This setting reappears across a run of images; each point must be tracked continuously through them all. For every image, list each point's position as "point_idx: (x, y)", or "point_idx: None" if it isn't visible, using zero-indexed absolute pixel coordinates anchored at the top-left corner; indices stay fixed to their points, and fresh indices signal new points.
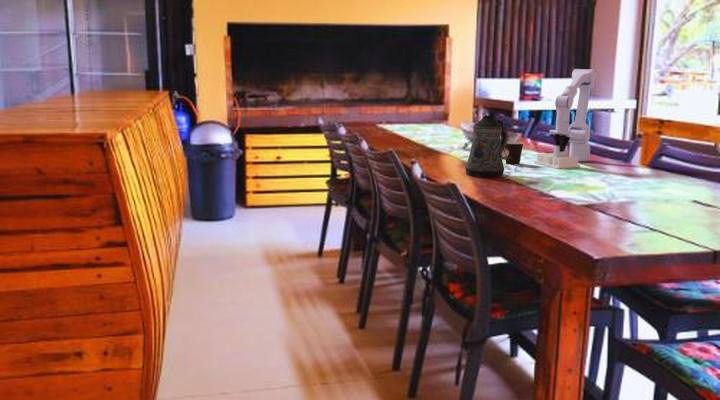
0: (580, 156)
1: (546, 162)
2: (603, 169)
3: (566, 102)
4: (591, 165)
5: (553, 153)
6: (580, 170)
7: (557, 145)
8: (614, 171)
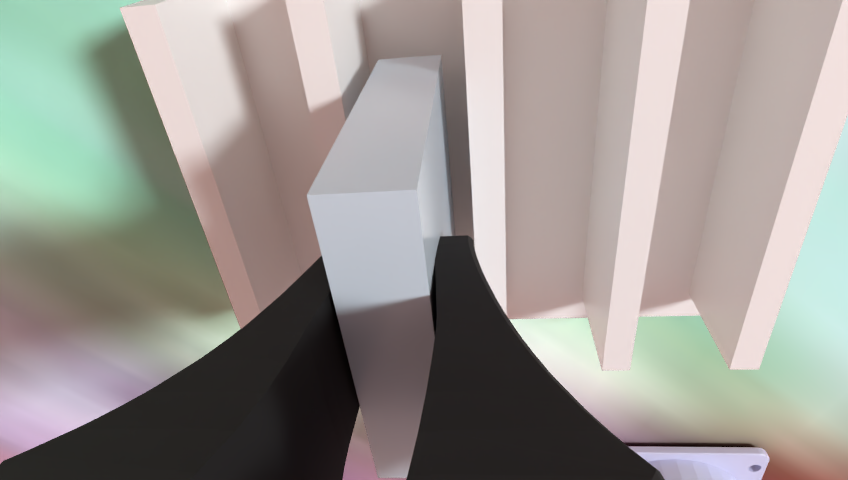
0: None
1: (605, 28)
2: (134, 398)
3: None
4: (363, 439)
5: (425, 102)
6: (56, 178)
7: (438, 312)
8: (28, 407)
